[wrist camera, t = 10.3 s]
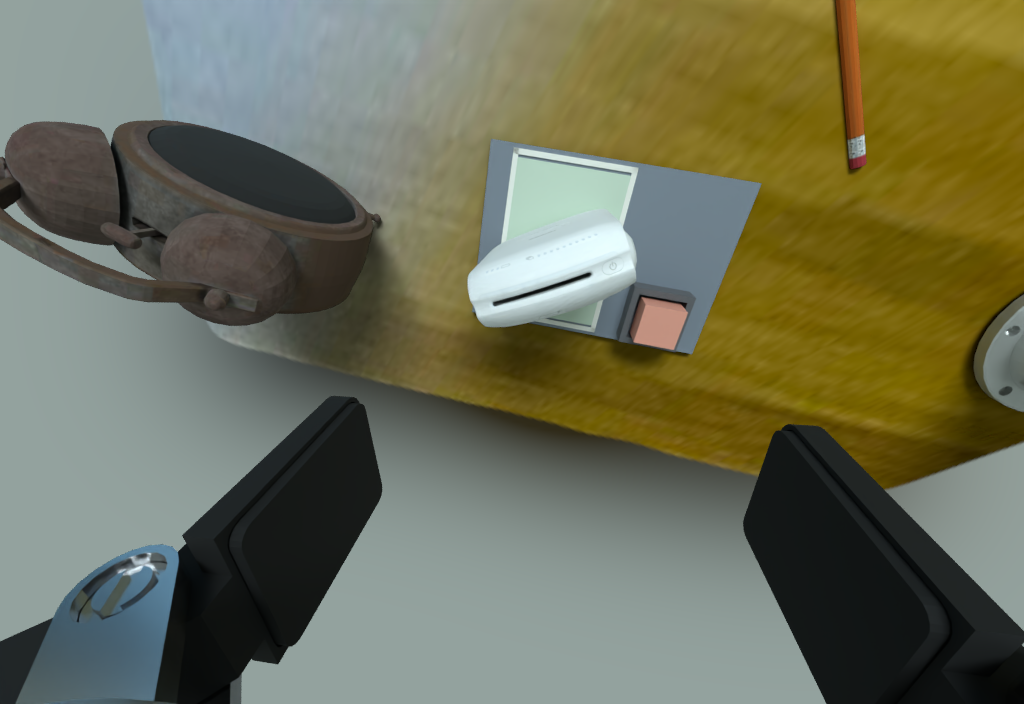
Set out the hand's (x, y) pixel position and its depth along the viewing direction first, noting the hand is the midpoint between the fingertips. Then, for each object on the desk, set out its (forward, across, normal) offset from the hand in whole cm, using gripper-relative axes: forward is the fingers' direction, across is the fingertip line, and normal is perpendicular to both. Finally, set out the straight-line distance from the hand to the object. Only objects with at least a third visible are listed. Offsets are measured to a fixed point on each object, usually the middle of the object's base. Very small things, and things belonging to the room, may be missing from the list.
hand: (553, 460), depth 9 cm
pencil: (+26, -16, -15) cm, 34 cm away
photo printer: (+25, +1, 0) cm, 25 cm away
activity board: (+26, -3, 0) cm, 26 cm away
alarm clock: (+26, +21, -4) cm, 33 cm away
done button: (+24, -8, +5) cm, 25 cm away
